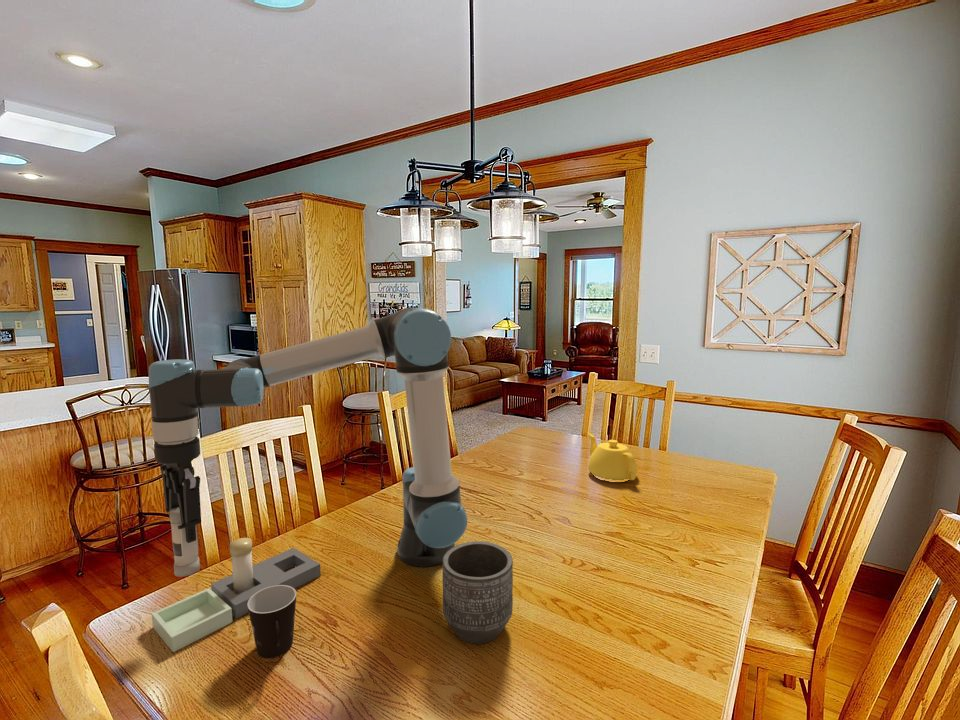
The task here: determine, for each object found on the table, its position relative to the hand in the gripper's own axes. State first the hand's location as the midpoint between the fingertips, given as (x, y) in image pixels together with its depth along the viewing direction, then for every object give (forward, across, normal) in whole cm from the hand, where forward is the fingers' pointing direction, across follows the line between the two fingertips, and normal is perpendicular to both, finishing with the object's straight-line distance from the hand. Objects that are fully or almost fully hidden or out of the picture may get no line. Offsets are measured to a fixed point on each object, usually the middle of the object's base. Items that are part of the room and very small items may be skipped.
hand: (185, 551), depth 96 cm
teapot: (+16, -32, -134) cm, 138 cm away
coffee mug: (+16, -20, -7) cm, 27 cm away
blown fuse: (+4, 0, 0) cm, 4 cm away
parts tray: (+16, 0, 0) cm, 16 cm away
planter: (+16, -46, -37) cm, 61 cm away
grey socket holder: (+16, +1, -17) cm, 23 cm away
